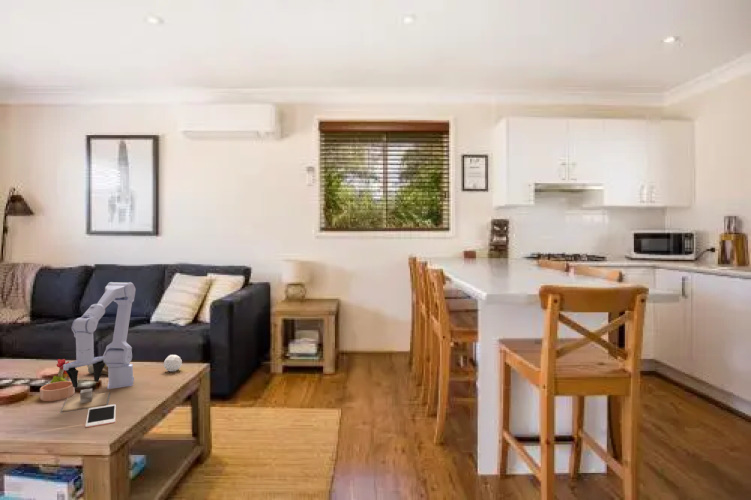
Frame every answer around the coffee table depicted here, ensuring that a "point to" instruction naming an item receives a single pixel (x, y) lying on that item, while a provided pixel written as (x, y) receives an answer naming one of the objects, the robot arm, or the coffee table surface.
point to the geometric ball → (172, 363)
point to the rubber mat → (85, 408)
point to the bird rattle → (60, 372)
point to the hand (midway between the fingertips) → (86, 384)
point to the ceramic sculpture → (91, 370)
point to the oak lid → (86, 400)
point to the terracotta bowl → (57, 391)
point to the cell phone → (101, 415)
